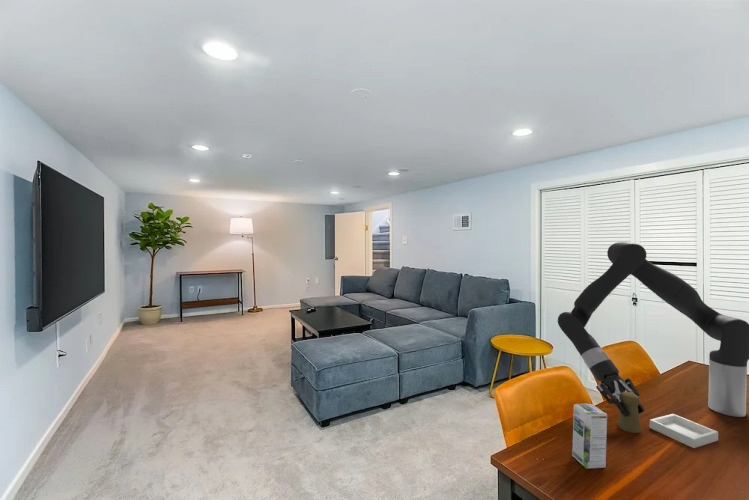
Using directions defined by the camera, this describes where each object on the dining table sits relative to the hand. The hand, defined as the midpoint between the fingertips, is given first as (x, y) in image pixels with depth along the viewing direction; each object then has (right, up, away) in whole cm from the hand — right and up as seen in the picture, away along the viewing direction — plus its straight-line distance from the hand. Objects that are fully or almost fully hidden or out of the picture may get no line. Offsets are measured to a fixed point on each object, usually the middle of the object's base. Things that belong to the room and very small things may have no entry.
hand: (635, 413), depth 107 cm
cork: (-1, -5, +2) cm, 6 cm away
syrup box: (-24, -6, -15) cm, 29 cm away
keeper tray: (+13, -5, -2) cm, 15 cm away
